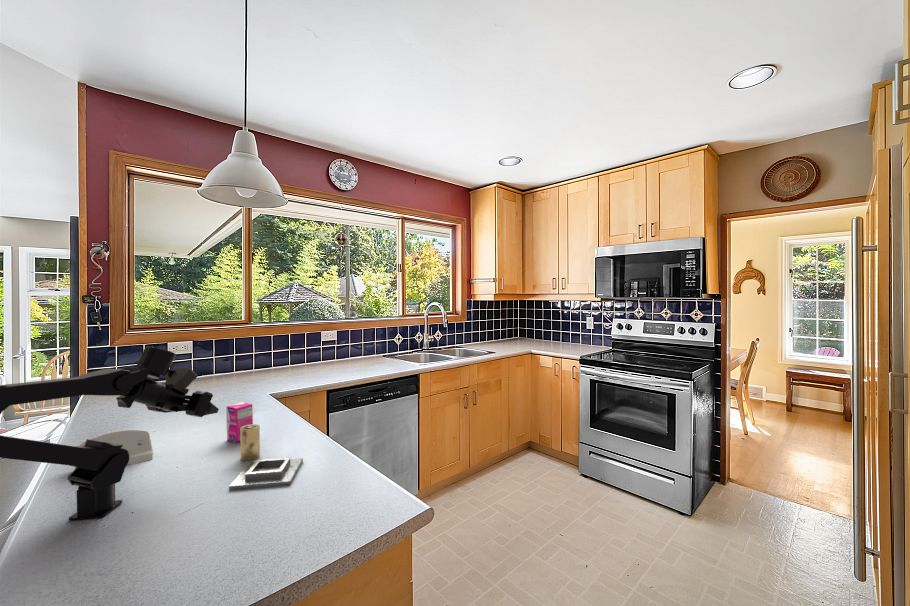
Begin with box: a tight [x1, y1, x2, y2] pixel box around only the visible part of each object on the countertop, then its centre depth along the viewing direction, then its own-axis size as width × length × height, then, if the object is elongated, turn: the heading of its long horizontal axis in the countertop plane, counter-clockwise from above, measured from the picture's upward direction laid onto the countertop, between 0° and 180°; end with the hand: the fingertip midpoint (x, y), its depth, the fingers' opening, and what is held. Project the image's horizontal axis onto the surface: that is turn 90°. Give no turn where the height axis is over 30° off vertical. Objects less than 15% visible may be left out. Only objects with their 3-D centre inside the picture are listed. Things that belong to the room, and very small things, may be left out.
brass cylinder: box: [239, 423, 261, 462], centre depth 113 cm, size 5×5×9 cm
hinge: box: [74, 429, 155, 470], centre depth 110 cm, size 17×5×10 cm, turn 130°
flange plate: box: [228, 457, 304, 491], centre depth 101 cm, size 14×14×2 cm
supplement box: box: [225, 401, 254, 444], centre depth 128 cm, size 6×6×12 cm
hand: (205, 409), depth 109 cm, fingers open, 9 cm apart
